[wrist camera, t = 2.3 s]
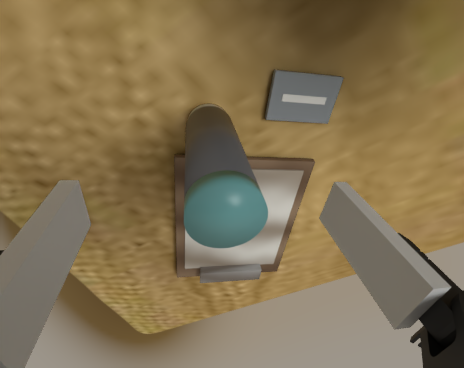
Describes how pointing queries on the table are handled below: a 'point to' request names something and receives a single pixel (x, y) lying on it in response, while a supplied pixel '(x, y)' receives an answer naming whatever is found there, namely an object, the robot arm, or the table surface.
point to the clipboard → (262, 245)
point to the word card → (302, 96)
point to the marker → (219, 183)
